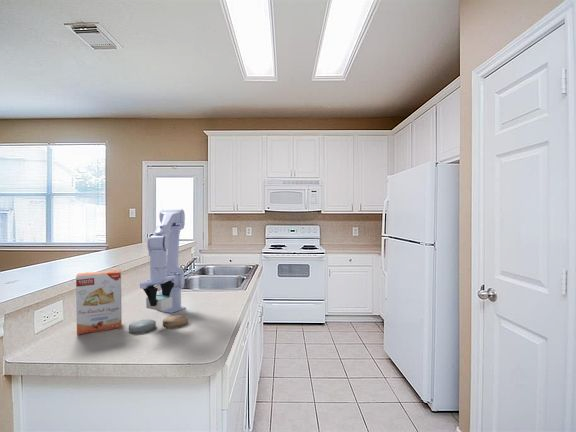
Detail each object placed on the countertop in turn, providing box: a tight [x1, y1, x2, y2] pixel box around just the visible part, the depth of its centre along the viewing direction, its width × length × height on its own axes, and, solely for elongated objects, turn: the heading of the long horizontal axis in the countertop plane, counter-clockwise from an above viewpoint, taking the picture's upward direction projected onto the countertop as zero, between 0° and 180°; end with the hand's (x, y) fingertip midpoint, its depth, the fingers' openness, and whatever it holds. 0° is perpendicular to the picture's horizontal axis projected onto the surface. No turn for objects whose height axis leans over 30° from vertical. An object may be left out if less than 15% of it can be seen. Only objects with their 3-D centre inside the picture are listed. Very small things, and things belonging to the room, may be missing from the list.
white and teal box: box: [145, 293, 172, 312], centre depth 117 cm, size 8×5×4 cm, turn 62°
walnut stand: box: [162, 314, 189, 329], centre depth 119 cm, size 9×9×2 cm
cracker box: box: [75, 269, 123, 335], centre depth 115 cm, size 14×6×21 cm, turn 117°
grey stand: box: [128, 319, 157, 334], centre depth 115 cm, size 9×9×2 cm
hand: (159, 303), depth 117 cm, fingers closed on white and teal box, 5 cm apart
